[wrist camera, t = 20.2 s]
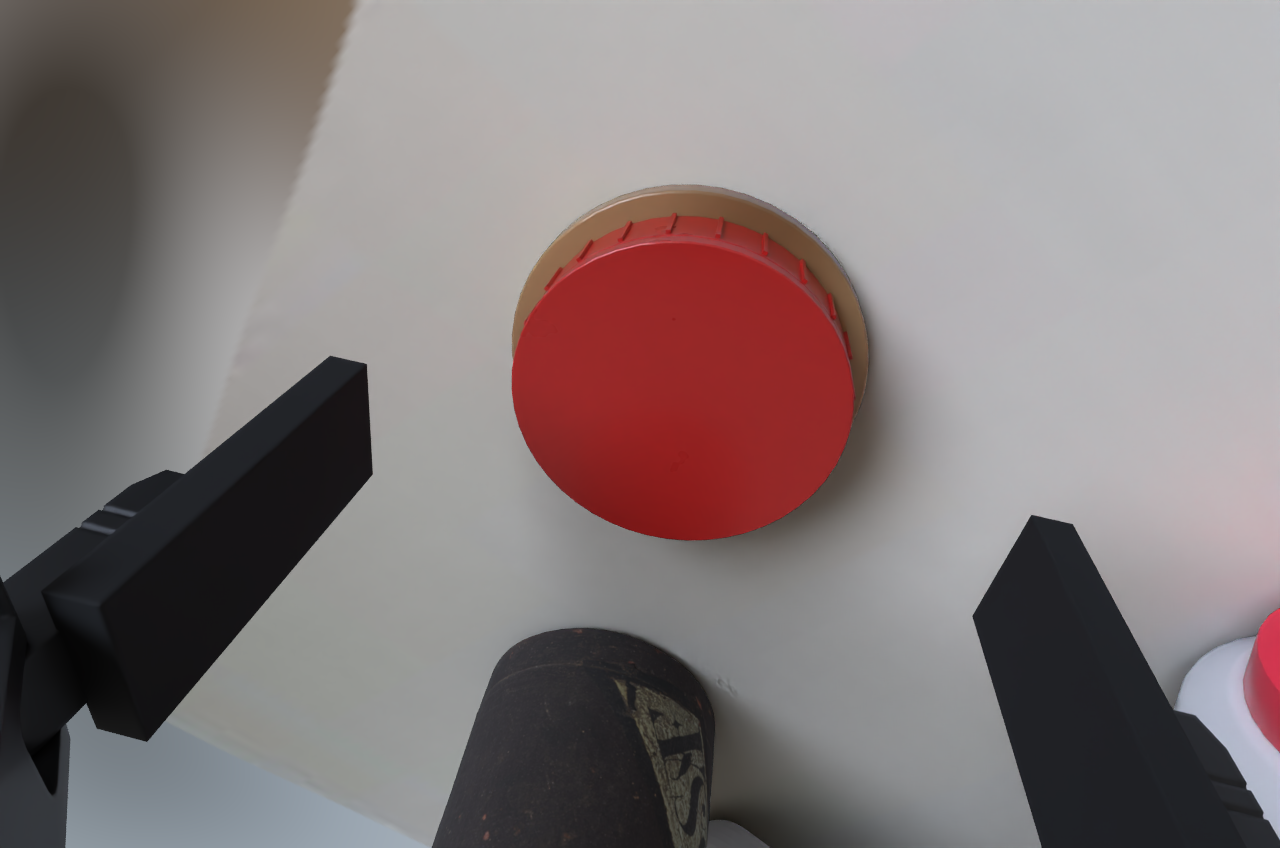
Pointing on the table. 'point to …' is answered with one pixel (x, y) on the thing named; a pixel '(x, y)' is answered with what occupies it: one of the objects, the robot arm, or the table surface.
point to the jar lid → (685, 379)
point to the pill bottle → (1243, 708)
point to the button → (731, 836)
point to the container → (585, 750)
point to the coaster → (712, 206)
